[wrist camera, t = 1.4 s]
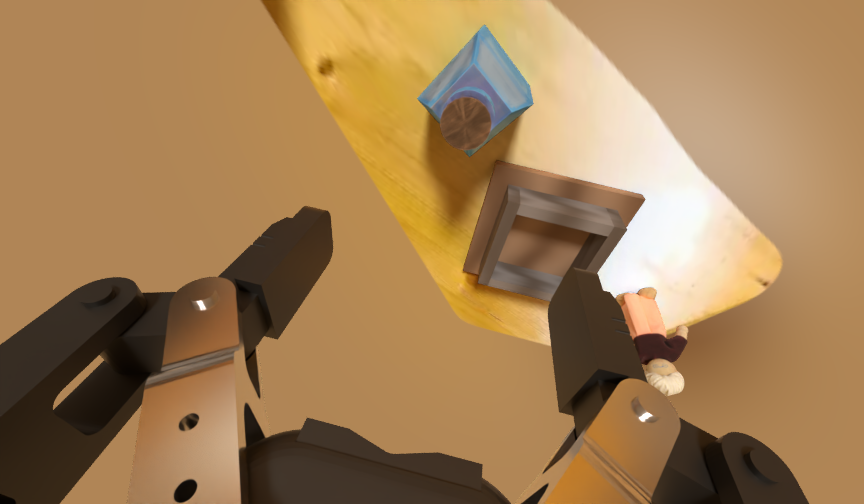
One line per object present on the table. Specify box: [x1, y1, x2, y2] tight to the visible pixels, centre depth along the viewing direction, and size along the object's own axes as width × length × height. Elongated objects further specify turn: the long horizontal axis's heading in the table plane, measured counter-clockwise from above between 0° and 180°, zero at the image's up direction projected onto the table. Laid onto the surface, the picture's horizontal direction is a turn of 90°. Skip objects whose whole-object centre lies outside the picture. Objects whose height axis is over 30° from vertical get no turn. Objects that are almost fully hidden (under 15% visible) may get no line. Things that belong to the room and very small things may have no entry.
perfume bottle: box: [417, 24, 533, 157], centre depth 24 cm, size 6×6×12 cm
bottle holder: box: [463, 160, 645, 301], centre depth 36 cm, size 15×15×4 cm
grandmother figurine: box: [616, 288, 688, 396], centre depth 36 cm, size 8×4×13 cm, turn 132°
